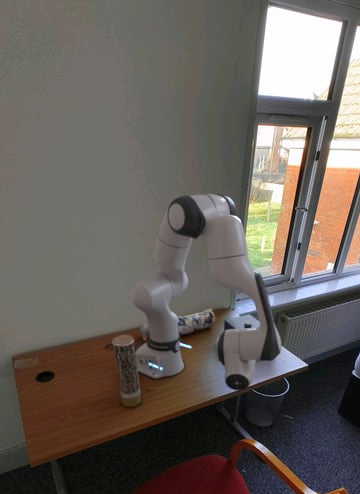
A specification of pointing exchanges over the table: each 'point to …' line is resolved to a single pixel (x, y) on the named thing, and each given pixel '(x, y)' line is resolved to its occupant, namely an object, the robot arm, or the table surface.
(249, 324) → the marker
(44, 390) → the table surface
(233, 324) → the cabinet
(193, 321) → the pencil case
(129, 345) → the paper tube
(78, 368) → the table surface
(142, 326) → the dog figurine
